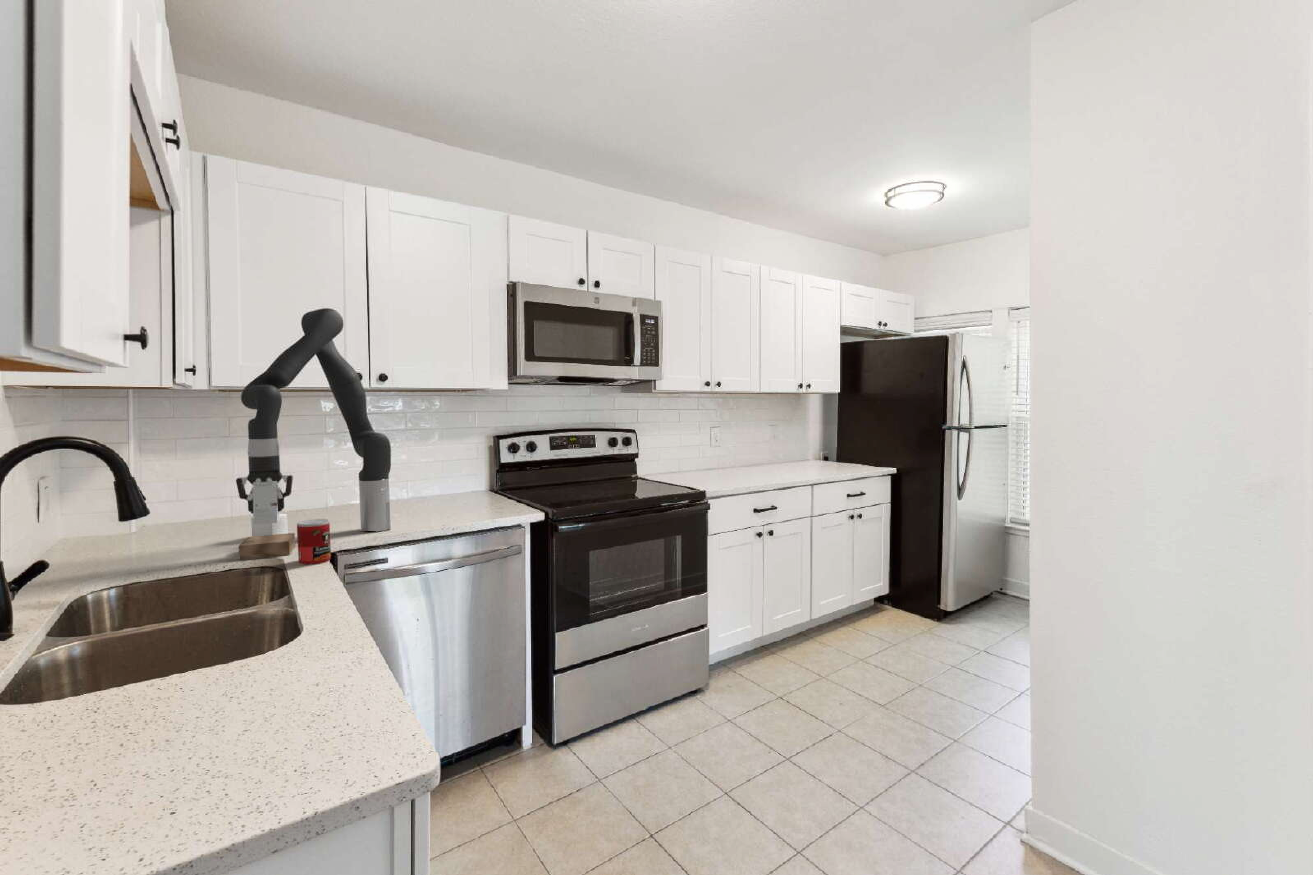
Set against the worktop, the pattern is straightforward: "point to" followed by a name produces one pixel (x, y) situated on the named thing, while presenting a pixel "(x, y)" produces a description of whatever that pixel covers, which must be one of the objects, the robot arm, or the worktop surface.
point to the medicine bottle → (270, 527)
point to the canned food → (313, 541)
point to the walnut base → (267, 546)
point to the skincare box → (265, 503)
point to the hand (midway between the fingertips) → (266, 511)
